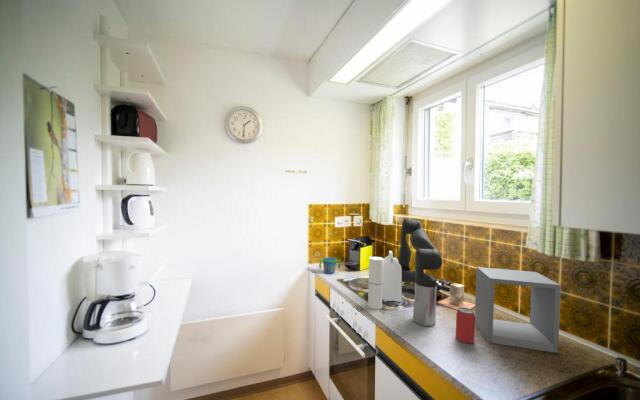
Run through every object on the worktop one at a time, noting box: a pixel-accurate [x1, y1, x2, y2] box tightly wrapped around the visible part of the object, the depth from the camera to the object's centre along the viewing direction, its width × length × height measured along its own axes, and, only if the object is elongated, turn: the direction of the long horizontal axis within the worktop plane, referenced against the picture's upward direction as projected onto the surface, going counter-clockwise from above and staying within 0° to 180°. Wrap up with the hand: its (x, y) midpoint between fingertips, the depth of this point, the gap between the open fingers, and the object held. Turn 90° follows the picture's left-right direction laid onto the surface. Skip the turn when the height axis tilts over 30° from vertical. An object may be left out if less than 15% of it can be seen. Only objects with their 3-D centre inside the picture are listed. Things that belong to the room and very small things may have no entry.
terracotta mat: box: [436, 296, 475, 311], centre depth 141 cm, size 14×14×1 cm
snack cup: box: [318, 256, 341, 275], centre depth 193 cm, size 16×10×10 cm
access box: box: [474, 266, 562, 354], centre depth 110 cm, size 18×23×26 cm
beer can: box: [455, 307, 476, 344], centre depth 106 cm, size 7×7×12 cm
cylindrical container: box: [367, 256, 384, 310], centre depth 136 cm, size 7×7×25 cm
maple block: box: [449, 282, 465, 306], centre depth 141 cm, size 5×5×10 cm
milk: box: [382, 250, 403, 302], centre depth 148 cm, size 12×12×26 cm
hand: (453, 288), depth 142 cm, fingers open, 8 cm apart
